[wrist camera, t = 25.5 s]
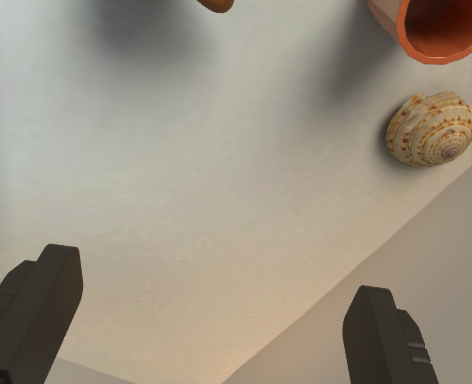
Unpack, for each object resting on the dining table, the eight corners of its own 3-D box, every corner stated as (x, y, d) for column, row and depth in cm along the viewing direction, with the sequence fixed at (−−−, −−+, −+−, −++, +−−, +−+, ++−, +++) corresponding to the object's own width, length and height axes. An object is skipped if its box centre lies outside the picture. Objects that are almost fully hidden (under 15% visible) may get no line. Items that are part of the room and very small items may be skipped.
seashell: (451, 72, 35) (502, 146, 36) (442, 70, 41) (486, 135, 41) (368, 127, 39) (415, 194, 39) (369, 119, 44) (411, 178, 45)
